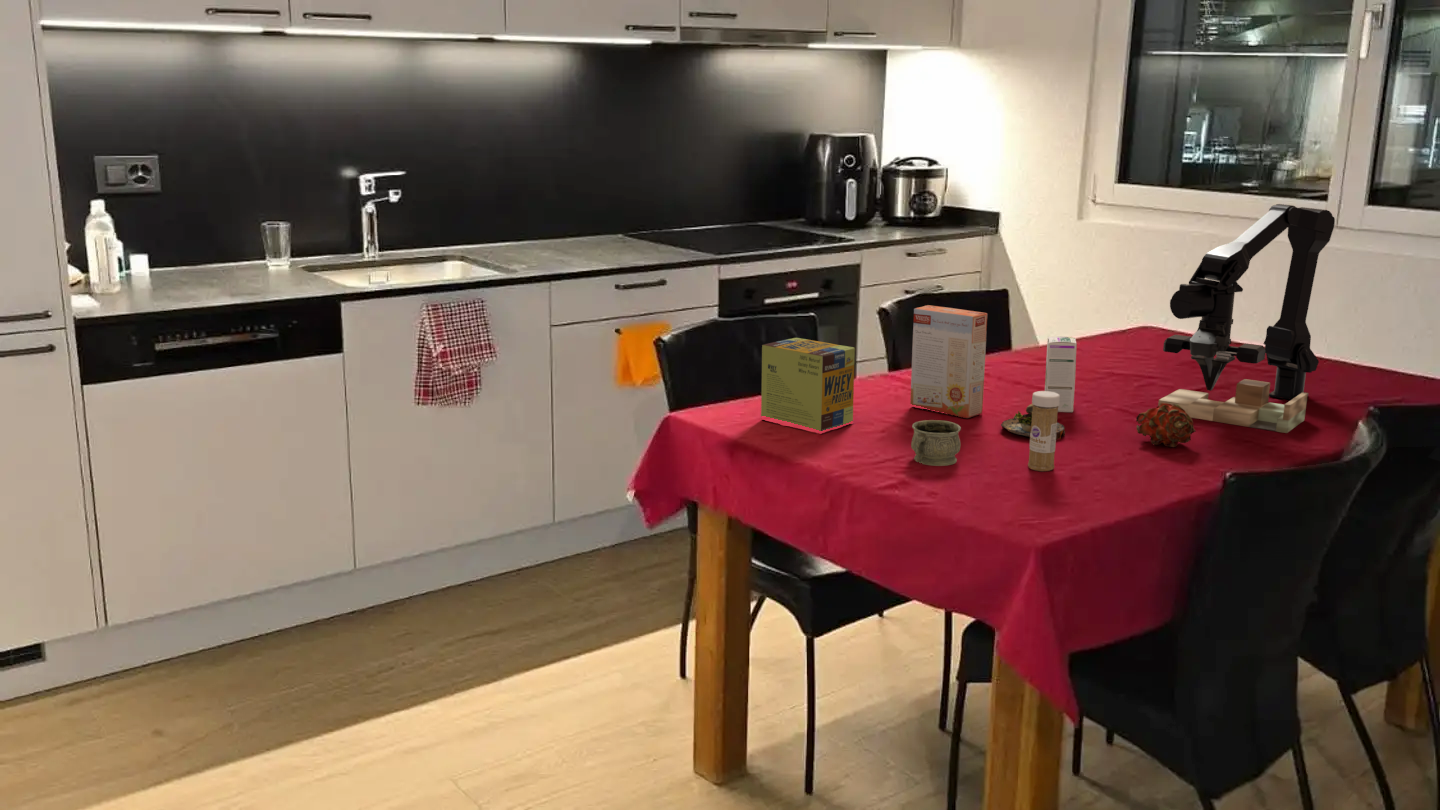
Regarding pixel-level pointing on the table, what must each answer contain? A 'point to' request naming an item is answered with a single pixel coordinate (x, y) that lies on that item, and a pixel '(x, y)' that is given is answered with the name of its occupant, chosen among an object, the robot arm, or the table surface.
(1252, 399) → the walnut block
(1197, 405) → the trap deck
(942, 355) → the cracker box
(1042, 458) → the sprinkles bottle
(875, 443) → the table surface
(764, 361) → the protein box
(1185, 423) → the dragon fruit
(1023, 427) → the plate with green herbs
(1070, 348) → the syrup box
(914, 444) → the vessel
